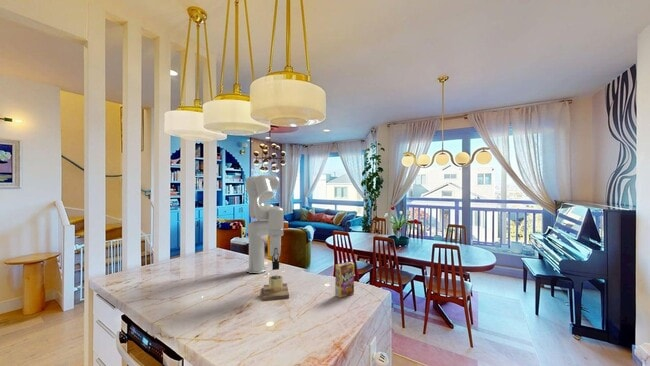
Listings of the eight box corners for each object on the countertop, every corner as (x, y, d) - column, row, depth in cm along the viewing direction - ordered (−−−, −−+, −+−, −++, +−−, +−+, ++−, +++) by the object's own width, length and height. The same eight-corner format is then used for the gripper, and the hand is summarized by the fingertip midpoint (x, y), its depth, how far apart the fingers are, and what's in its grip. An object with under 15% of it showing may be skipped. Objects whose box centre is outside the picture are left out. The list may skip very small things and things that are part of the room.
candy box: (340, 298, 123) (340, 266, 123) (334, 295, 126) (334, 263, 127) (354, 294, 127) (354, 263, 128) (349, 291, 131) (349, 261, 131)
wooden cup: (268, 287, 132) (269, 275, 132) (282, 286, 134) (282, 275, 134) (268, 292, 126) (269, 280, 126) (282, 291, 127) (282, 279, 127)
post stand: (263, 287, 136) (263, 272, 136) (286, 286, 139) (286, 270, 139) (263, 300, 120) (263, 283, 121) (289, 298, 123) (289, 281, 123)
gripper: (268, 229, 138) (267, 261, 138) (268, 236, 121) (267, 272, 121) (282, 229, 140) (282, 261, 140) (284, 235, 123) (284, 271, 123)
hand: (275, 266), depth 130 cm, fingers open, 9 cm apart
